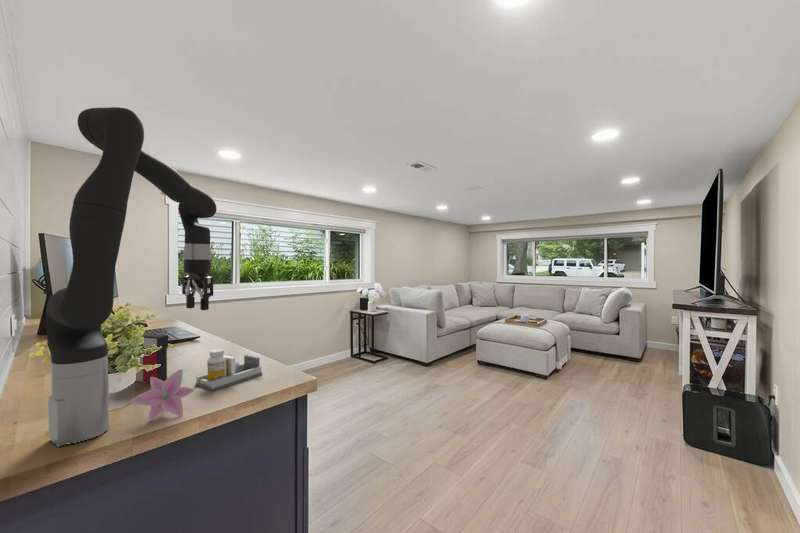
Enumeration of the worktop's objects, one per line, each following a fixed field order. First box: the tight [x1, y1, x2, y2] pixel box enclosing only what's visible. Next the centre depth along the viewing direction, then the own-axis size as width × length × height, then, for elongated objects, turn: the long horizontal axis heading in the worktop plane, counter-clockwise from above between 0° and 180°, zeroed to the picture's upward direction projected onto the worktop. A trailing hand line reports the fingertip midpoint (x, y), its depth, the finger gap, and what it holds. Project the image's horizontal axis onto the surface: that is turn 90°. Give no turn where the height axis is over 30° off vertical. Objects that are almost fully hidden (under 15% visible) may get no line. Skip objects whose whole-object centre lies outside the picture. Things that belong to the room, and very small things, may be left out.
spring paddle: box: [223, 354, 241, 376], centre depth 112 cm, size 4×6×7 cm, turn 59°
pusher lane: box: [194, 354, 263, 392], centre depth 111 cm, size 17×10×6 cm, turn 149°
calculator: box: [136, 333, 169, 384], centre depth 110 cm, size 11×4×15 cm, turn 76°
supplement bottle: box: [206, 348, 227, 381], centre depth 108 cm, size 5×5×10 cm
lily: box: [130, 369, 195, 421], centre depth 87 cm, size 12×12×10 cm
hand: (197, 309), depth 108 cm, fingers open, 8 cm apart
